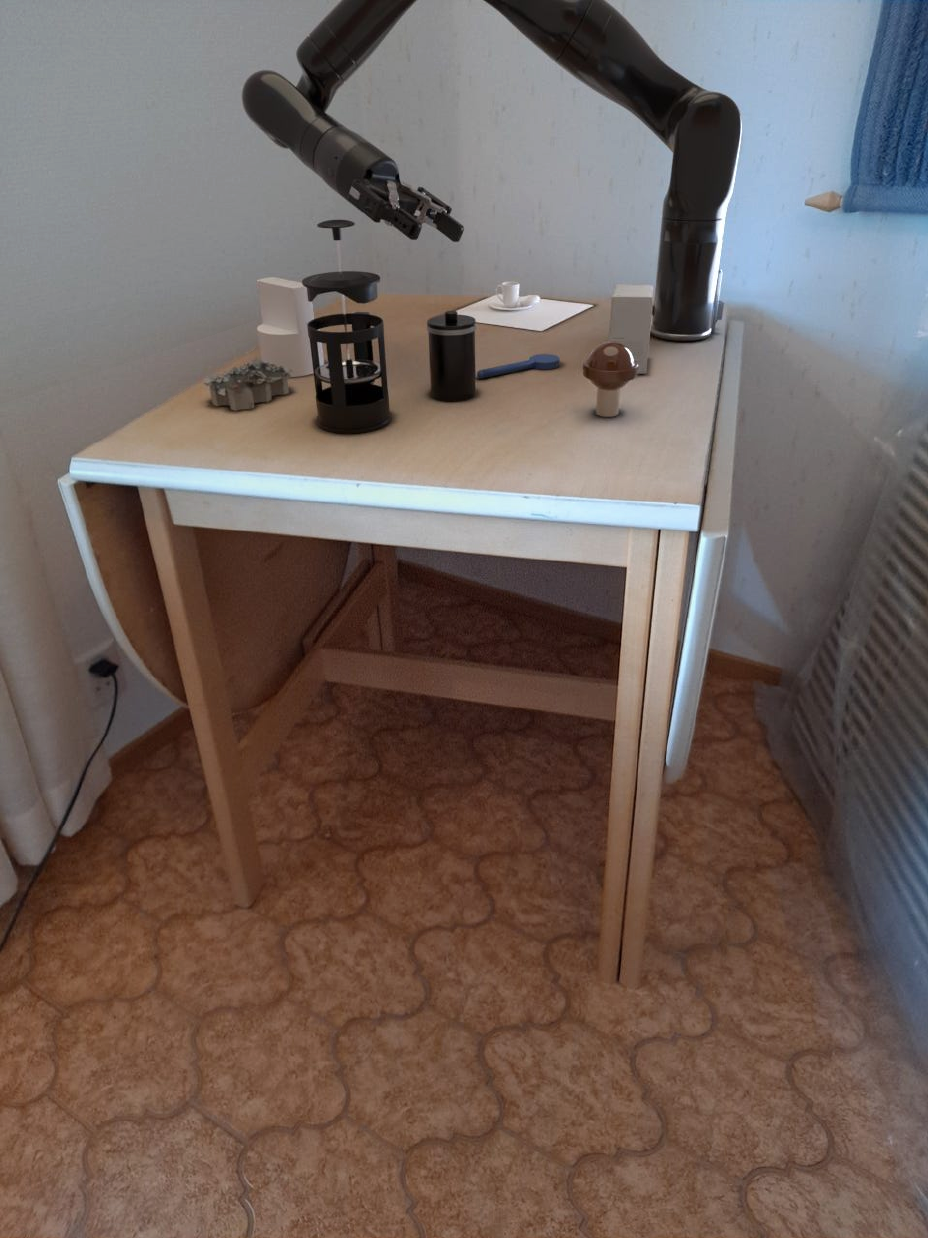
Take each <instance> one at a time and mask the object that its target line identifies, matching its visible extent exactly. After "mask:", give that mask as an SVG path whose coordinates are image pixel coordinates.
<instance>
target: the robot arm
mask: <svg viewBox="0 0 928 1238" xmlns="http://www.w3.org/2000/svg"><path fill="white" fill-rule="evenodd" d="M417 1H418V0H340V1H338V3H337V4H336V5H335V6H334V7H333V8H332V9H331V10H330V11H329V12H328V13H327V15H325V16H324V17H323V19H321V21H320V22H319V23H318V24H317V25H316V26H315V27H314V28H313V29H312V31H310V32H309V34H308V35H307V36H306V37H305V38H304V39H302V41H301V43H300V44H299V45H298V47H297V49H296V52H295V57H296V62H297V63H298V65H299V68H300V70H301V76H300V77H299V80H298V82H297V84H296V85H294V83H292V82H291V80H290V81H289V79H288V78H286V77H285V76H283V75H282V74H280V73H279V72H277V71H275V70H271V69H261V70H258V71H255V72H254V73H252V74H251V75H249V76H248V77H247V78H246V80H245V82H244V83H243V86H242V90H241V103H242V107H243V109H244V113H245V114H246V116H247V117H248V119H249V120H250V121H251V122H252V123H253V124H254V125H255V126H256V127H257V128H258V129H259V130H260V131H261V132H262V133H264V134H265V136H267V138H268V139H269V140H270V141H272V142H273V143H274V144H275V145H276V146H277V147H279V148H282V149H286V150H290V151H291V152H292V153H293V155H294V156H295V157H296V158H297V159H298V160H299V161H300V162H301V163H302V164H303V165H304V166H306V168H308V169H310V170H311V171H312V172H313V173H314V174H316V175H317V176H318V177H320V178H321V179H322V181H324V183H325V184H326V185H327V186H328V187H329V188H330V189H332V190H333V191H334V192H336V194H338V195H339V196H340V197H342V199H344V200H346V202H348V203H350V204H351V205H352V206H353V207H354V208H356V209H357V210H358V211H360V212H361V213H363V214H364V215H365V216H367V218H369V219H370V220H371V221H373V222H374V223H377V224H380V223H381V221H383V223H384V224H386V225H387V227H394V228H395V229H396V230H398V231H399V232H400V233H401V234H403V235H404V236H405V237H407V238H408V239H409V240H411V241H417V240H418V239H419V237H420V234H421V232H422V228H423V224H426V225H428V226H430V227H432V228H434V229H436V230H437V231H438V232H440V234H442V235H443V236H445V237H447V238H448V239H449V240H450V241H451V242H453V243H459V242H460V241H461V239H462V236H463V234H464V231H465V227H464V225H463V224H462V223H460V222H459V221H458V220H456V219H455V218H454V217H452V216H451V213H452V211H453V208H452V207H451V206H450V205H448V204H446V203H445V202H444V201H442V200H441V199H440V198H438V197H437V196H435V195H434V194H433V193H431V192H429V191H428V190H427V189H425V188H424V187H422V186H418V187H417V189H414V188H413V186H412V185H411V184H409V183H406V182H404V181H401V177H400V170H399V167H398V165H397V163H396V161H395V160H394V159H393V158H391V157H390V156H389V155H388V154H386V153H385V152H383V151H382V150H380V148H378V147H377V146H375V144H373V143H371V142H370V141H369V140H367V139H366V138H365V137H363V136H362V135H360V134H359V133H358V132H355V131H354V130H351V129H350V128H348V127H346V126H345V125H344V124H342V123H341V122H340V121H338V120H337V119H336V118H335V117H333V116H332V115H330V114H328V113H327V111H328V109H329V107H330V106H331V103H332V102H333V100H334V97H335V96H336V94H337V93H338V91H339V90H340V88H342V87H343V85H345V83H346V82H348V81H349V80H350V78H352V76H354V74H355V73H356V72H357V71H358V70H359V69H360V68H361V67H362V66H364V64H365V63H366V62H367V60H369V58H370V57H371V56H372V55H373V54H374V53H375V52H376V50H377V49H378V48H379V47H380V45H381V44H382V43H383V42H384V40H385V39H386V38H387V36H388V35H389V34H390V33H391V31H392V30H393V29H394V27H395V26H396V25H397V24H398V22H399V21H400V20H401V19H402V18H403V16H404V15H405V14H406V13H407V11H409V9H411V7H412V6H413V5H414V4H415V3H416V2H417ZM482 1H483V2H484V3H486V4H488V5H489V6H490V7H492V8H493V9H494V10H495V11H497V12H498V13H500V14H501V16H503V17H504V18H505V19H506V20H507V21H508V23H510V24H511V25H512V26H513V27H515V29H517V30H518V32H520V34H522V35H523V36H524V37H525V38H526V39H527V40H529V41H530V42H531V43H532V44H533V45H534V46H535V47H537V48H538V49H539V50H540V51H541V52H542V53H544V54H545V55H546V56H547V57H548V58H549V59H551V60H552V61H553V62H555V64H557V65H558V66H560V68H562V69H564V70H565V71H566V72H567V73H568V74H570V75H571V76H573V77H574V78H575V79H577V80H578V81H579V82H581V83H583V84H584V85H585V86H587V87H589V88H590V89H591V90H593V91H595V92H596V93H598V94H599V95H601V96H603V97H605V98H606V99H608V100H610V101H612V102H614V103H615V104H617V105H619V106H621V107H622V108H624V109H625V110H627V111H629V112H630V113H631V114H632V115H633V116H635V117H636V118H637V119H639V120H640V121H641V122H642V123H643V124H644V125H645V126H646V127H647V128H648V129H649V130H650V131H651V132H653V134H654V135H655V136H656V137H657V138H658V139H659V140H660V141H661V142H662V143H663V144H664V145H665V146H666V147H667V148H668V149H669V151H670V152H671V153H672V161H671V170H670V177H669V185H668V187H667V188H668V189H667V191H666V193H665V196H664V198H663V203H662V213H661V221H660V222H661V223H660V235H659V243H658V244H659V245H658V256H657V266H656V277H655V286H654V287H655V288H654V295H653V308H652V318H651V329H650V335H652V336H653V337H656V338H658V339H662V340H666V341H674V342H675V341H676V342H694V341H699V340H705V339H707V338H709V337H710V336H711V335H712V334H715V331H716V324H717V322H718V321H720V320H722V319H723V312H724V307H725V301H721V300H720V295H721V289H722V287H721V286H722V279H723V270H722V269H720V268H719V267H720V260H721V253H722V245H723V237H724V229H725V222H726V215H727V214H726V213H727V210H728V209H727V208H728V205H729V202H730V200H731V197H732V195H733V192H734V185H735V180H736V174H737V167H738V162H739V154H740V149H741V142H742V141H741V140H742V131H743V123H742V115H741V111H740V109H739V107H738V105H737V104H736V102H735V101H734V100H733V99H732V98H731V97H730V96H728V95H726V94H724V93H721V92H718V91H711V90H707V89H705V88H703V87H701V86H700V85H698V84H696V83H695V82H693V81H691V80H689V79H688V78H687V77H685V76H684V75H682V74H681V73H679V72H678V71H676V70H675V69H673V68H672V67H671V66H669V65H668V64H667V63H666V62H664V61H663V60H662V59H661V57H659V55H658V54H656V53H655V51H654V50H653V48H652V47H651V46H650V45H649V44H648V42H647V41H646V40H645V38H643V36H642V35H641V34H640V33H639V32H638V30H637V29H636V28H635V27H634V26H633V25H632V24H631V22H630V21H629V20H628V19H626V17H625V16H624V15H623V14H622V13H621V12H619V11H618V9H616V8H615V6H613V5H612V4H610V3H609V2H608V1H607V0H482ZM416 211H417V212H419V214H417V215H415V214H416Z"/></svg>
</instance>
